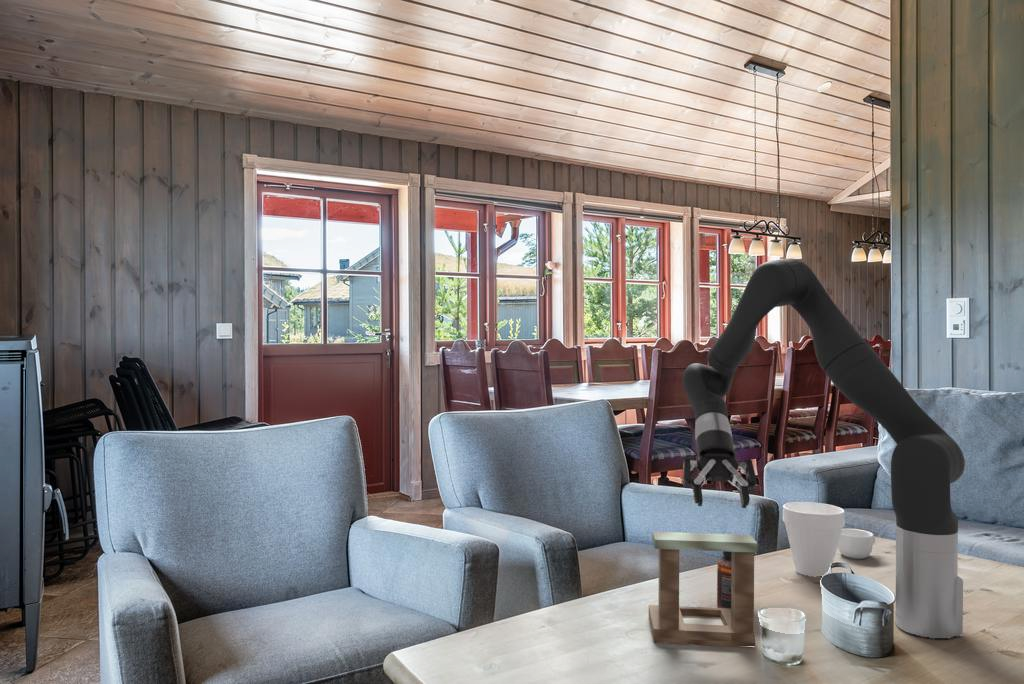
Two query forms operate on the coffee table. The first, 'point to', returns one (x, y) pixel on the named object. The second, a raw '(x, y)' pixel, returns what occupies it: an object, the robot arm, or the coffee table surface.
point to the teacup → (856, 543)
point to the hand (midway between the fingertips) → (722, 505)
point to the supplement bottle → (724, 581)
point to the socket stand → (702, 621)
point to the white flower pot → (813, 535)
